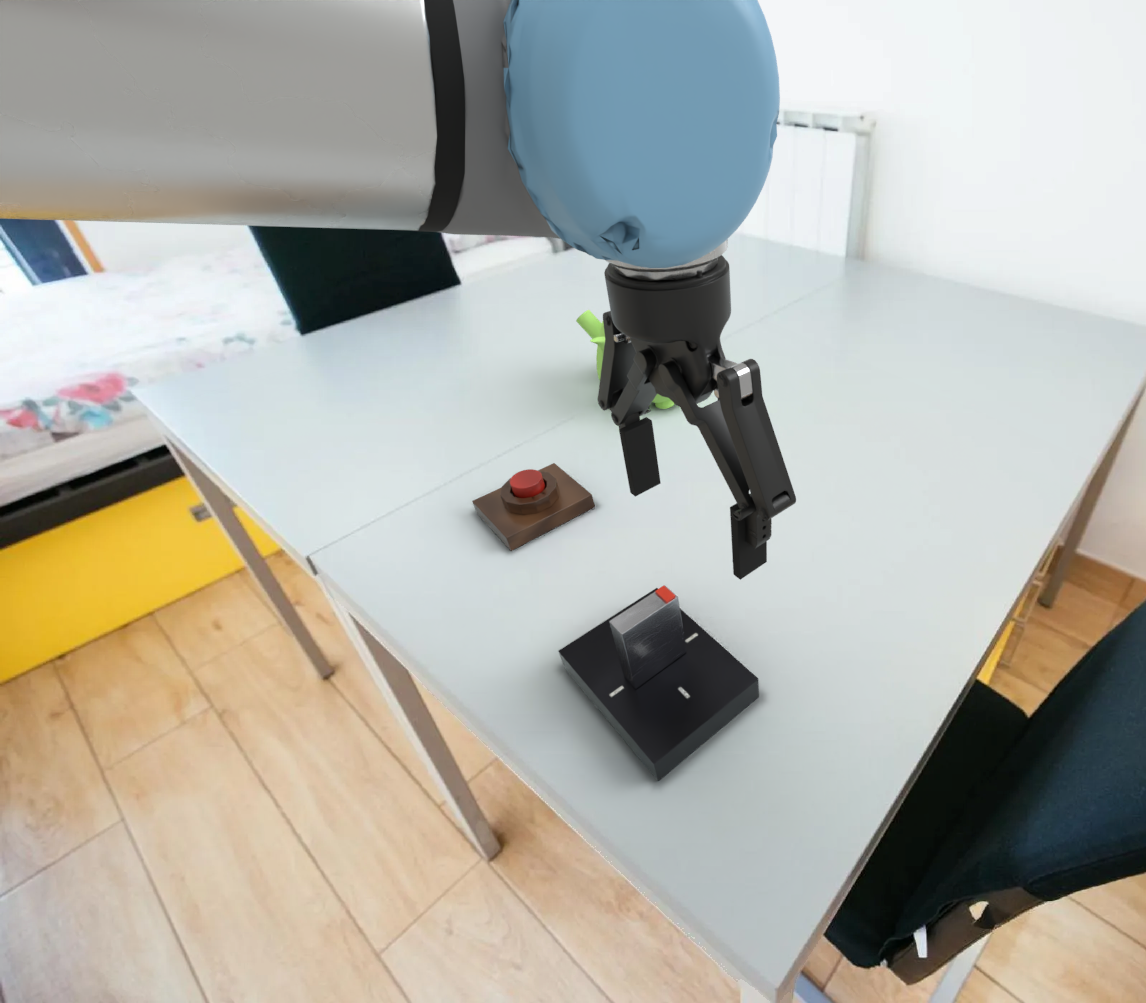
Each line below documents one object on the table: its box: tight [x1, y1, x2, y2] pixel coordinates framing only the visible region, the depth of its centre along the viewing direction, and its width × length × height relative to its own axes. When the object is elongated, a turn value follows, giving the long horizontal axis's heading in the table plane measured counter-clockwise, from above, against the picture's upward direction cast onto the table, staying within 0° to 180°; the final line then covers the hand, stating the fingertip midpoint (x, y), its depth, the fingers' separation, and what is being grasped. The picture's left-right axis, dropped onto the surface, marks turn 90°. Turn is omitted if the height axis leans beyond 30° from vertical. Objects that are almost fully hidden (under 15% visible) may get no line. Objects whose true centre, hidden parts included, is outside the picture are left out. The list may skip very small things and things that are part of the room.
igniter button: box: [509, 468, 545, 498], centre depth 79 cm, size 4×4×2 cm
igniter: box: [471, 462, 596, 551], centre depth 81 cm, size 12×10×4 cm
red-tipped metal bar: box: [609, 585, 686, 689], centre depth 57 cm, size 6×2×8 cm, turn 133°
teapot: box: [575, 309, 675, 410], centre depth 101 cm, size 25×22×16 cm
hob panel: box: [557, 587, 760, 782], centre depth 60 cm, size 12×16×3 cm
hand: (693, 525), depth 50 cm, fingers open, 13 cm apart
